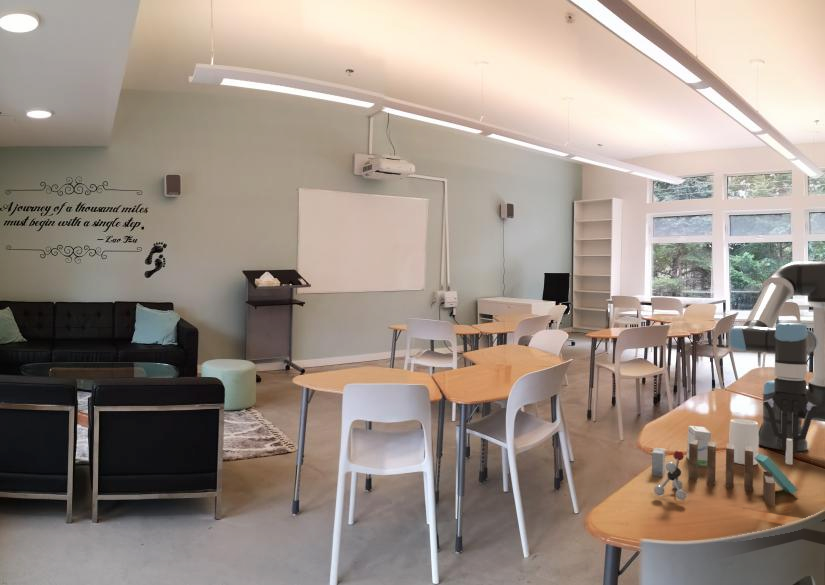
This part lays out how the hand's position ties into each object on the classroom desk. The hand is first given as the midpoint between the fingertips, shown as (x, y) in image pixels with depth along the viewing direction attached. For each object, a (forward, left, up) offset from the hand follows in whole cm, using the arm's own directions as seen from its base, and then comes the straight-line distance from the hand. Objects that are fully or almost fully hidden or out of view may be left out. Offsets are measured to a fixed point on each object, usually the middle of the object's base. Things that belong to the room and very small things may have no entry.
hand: (789, 462), depth 163 cm
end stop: (+22, -26, -8) cm, 35 cm away
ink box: (+2, -29, -9) cm, 30 cm away
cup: (-12, -24, -9) cm, 28 cm away
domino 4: (+6, -7, -8) cm, 13 cm away
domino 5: (+6, -2, -6) cm, 8 cm away
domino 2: (+12, -15, -8) cm, 21 cm away
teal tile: (0, 0, -7) cm, 7 cm away
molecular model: (+31, -11, -9) cm, 34 cm away
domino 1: (+16, -18, -8) cm, 25 cm away
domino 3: (+9, -11, -8) cm, 17 cm away
